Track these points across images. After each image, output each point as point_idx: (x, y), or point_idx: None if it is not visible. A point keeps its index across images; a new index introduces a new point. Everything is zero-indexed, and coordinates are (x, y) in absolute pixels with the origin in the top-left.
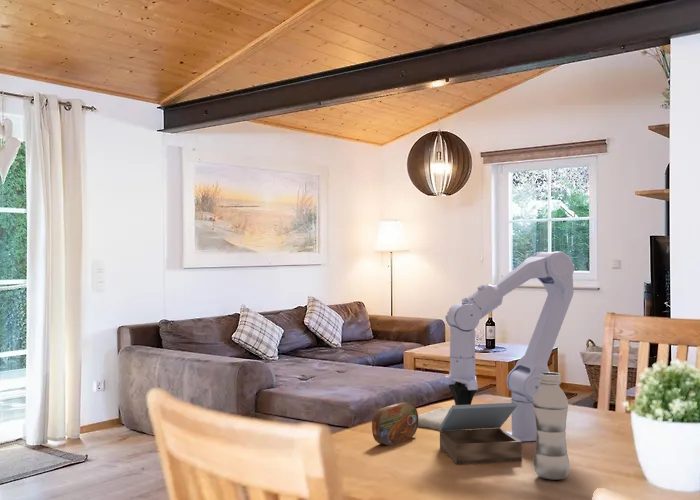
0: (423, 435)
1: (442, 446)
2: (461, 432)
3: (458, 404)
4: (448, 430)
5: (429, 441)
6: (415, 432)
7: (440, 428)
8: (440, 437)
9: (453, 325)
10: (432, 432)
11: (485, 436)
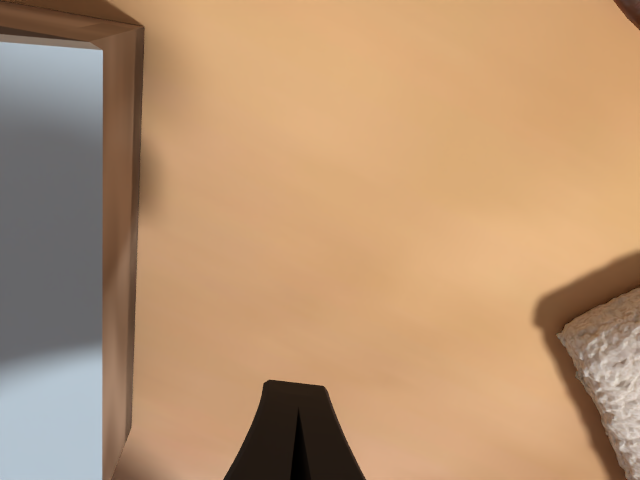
0: (599, 98)
1: (45, 13)
2: None
3: (227, 476)
4: (585, 316)
5: (408, 58)
6: (621, 10)
7: (45, 40)
8: (86, 31)
9: None
10: (634, 204)
11: None
